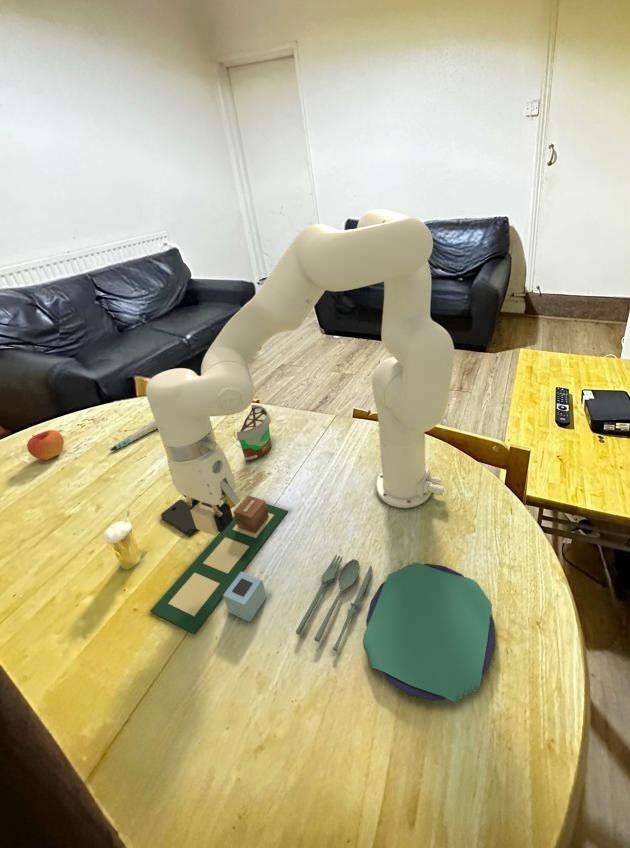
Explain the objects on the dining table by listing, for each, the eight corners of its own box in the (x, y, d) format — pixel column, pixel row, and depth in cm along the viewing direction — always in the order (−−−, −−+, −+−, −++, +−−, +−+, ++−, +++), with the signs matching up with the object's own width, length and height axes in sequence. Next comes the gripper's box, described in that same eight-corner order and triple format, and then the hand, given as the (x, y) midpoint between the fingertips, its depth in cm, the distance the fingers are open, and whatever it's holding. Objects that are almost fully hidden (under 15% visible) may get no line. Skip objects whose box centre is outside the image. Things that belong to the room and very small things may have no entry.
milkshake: (153, 550, 81) (137, 513, 77) (130, 575, 76) (112, 537, 72) (135, 544, 82) (119, 508, 78) (112, 568, 78) (93, 531, 74)
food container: (268, 465, 101) (261, 432, 97) (244, 466, 101) (235, 433, 97) (281, 433, 112) (274, 402, 108) (258, 434, 113) (251, 403, 108)
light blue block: (266, 596, 71) (262, 579, 69) (249, 622, 68) (244, 604, 66) (246, 588, 73) (240, 570, 71) (228, 612, 69) (222, 594, 67)
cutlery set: (483, 734, 53) (484, 725, 52) (286, 648, 64) (284, 639, 63) (502, 591, 70) (503, 582, 69) (343, 541, 80) (342, 533, 79)
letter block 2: (269, 516, 86) (265, 500, 84) (255, 533, 83) (250, 517, 81) (251, 510, 88) (247, 494, 86) (237, 527, 84) (232, 511, 82)
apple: (73, 452, 110) (62, 428, 107) (41, 469, 105) (28, 444, 101) (61, 443, 114) (50, 420, 111) (30, 460, 108) (17, 435, 105)
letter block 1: (233, 516, 76) (227, 498, 74) (215, 536, 72) (209, 517, 70) (214, 509, 78) (208, 491, 76) (196, 528, 74) (189, 510, 72)
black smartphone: (188, 533, 83) (159, 515, 88) (189, 536, 83) (160, 517, 88) (209, 515, 87) (180, 498, 92) (210, 518, 87) (181, 501, 92)
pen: (176, 414, 124) (173, 406, 123) (182, 417, 122) (179, 409, 121) (108, 451, 110) (104, 442, 109) (113, 455, 108) (110, 446, 107)
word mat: (287, 511, 88) (287, 510, 88) (194, 634, 66) (193, 632, 66) (250, 499, 92) (250, 498, 91) (150, 612, 70) (149, 610, 70)
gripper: (246, 438, 67) (265, 519, 75) (171, 418, 74) (195, 494, 81) (213, 469, 61) (237, 553, 69) (133, 444, 67) (164, 524, 75)
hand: (214, 521), depth 75 cm, fingers closed on letter block 1, 4 cm apart
